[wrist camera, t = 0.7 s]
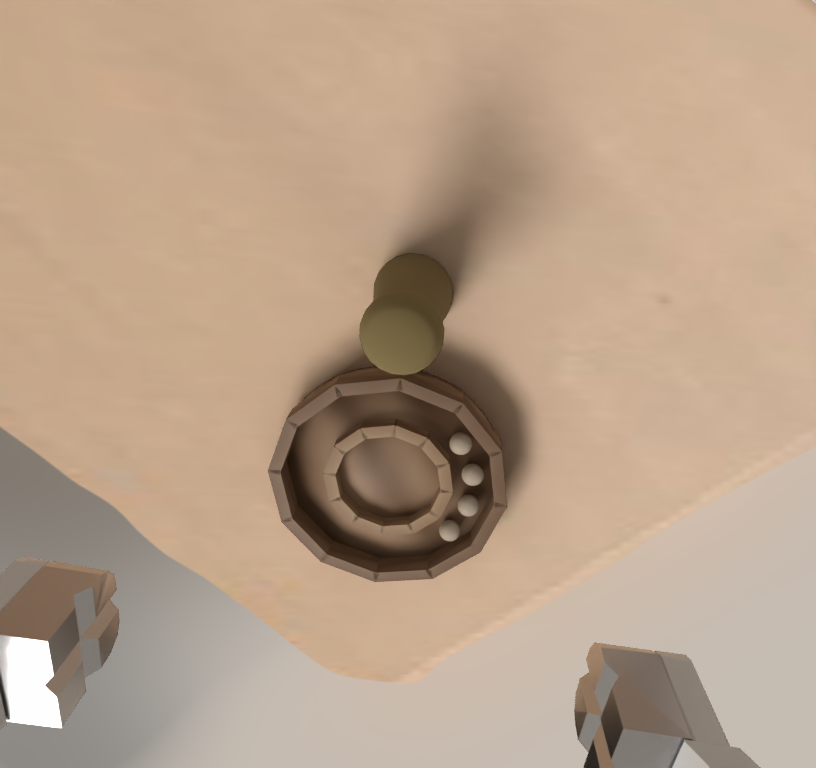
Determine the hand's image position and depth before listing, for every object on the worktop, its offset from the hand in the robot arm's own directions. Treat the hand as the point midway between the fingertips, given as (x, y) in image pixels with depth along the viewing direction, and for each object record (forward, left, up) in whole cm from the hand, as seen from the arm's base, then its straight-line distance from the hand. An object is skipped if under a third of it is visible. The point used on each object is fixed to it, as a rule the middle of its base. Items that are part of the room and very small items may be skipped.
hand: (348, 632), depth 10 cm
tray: (+15, +13, -37) cm, 42 cm away
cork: (+4, +2, -37) cm, 37 cm away
